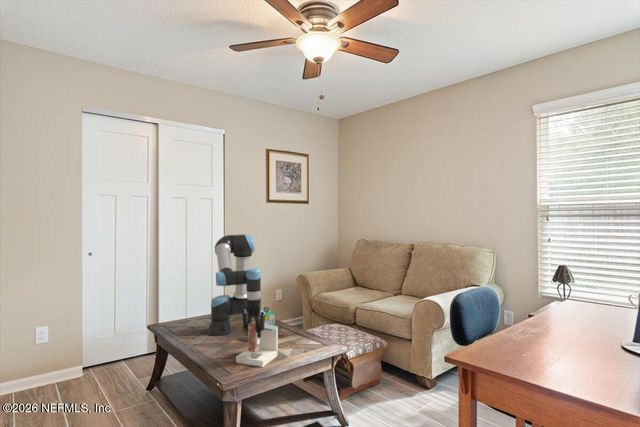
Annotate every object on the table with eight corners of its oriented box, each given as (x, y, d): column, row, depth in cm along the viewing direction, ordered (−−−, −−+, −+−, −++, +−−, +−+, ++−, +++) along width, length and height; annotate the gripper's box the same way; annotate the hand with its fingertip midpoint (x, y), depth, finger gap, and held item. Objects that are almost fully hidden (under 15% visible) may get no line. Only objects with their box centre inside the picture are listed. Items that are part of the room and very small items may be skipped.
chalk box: (255, 329, 240) (255, 307, 240) (266, 326, 247) (266, 305, 247) (264, 332, 234) (264, 310, 234) (275, 329, 241) (275, 307, 241)
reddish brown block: (248, 351, 187) (248, 324, 187) (252, 348, 191) (252, 322, 191) (255, 352, 186) (254, 324, 186) (259, 349, 190) (258, 322, 190)
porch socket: (235, 362, 187) (235, 331, 187) (252, 351, 202) (252, 322, 202) (262, 367, 182) (262, 335, 182) (277, 355, 196) (277, 326, 196)
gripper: (235, 298, 188) (235, 343, 188) (264, 301, 182) (264, 347, 182) (243, 295, 195) (243, 339, 195) (271, 298, 189) (271, 342, 189)
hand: (253, 343), depth 189 cm, fingers closed on reddish brown block, 4 cm apart
